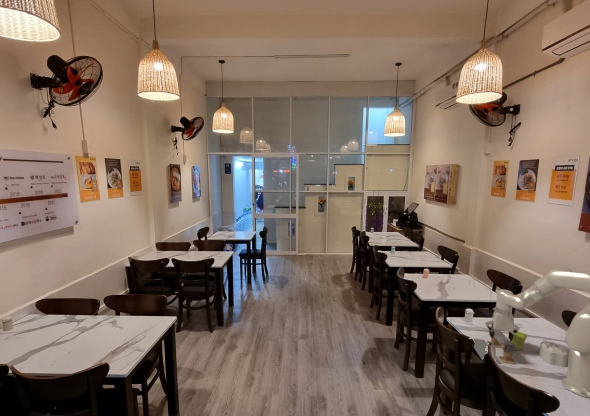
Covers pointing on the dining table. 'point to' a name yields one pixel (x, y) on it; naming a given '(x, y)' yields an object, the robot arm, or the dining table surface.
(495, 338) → the post far
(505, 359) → the post near
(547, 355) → the lumpy-topped squat cylinder
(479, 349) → the mat
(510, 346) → the rail
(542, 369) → the dining table surface
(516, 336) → the plant pot
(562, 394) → the dining table surface
